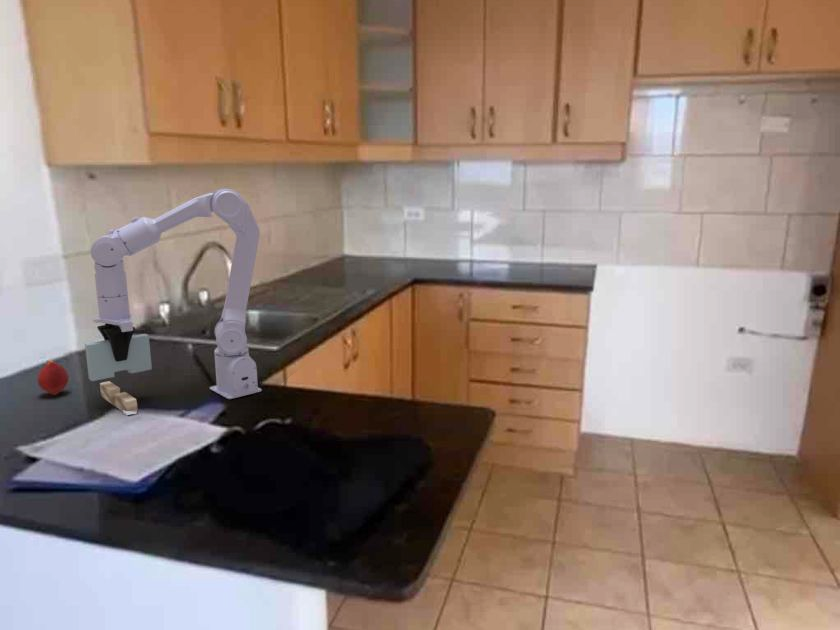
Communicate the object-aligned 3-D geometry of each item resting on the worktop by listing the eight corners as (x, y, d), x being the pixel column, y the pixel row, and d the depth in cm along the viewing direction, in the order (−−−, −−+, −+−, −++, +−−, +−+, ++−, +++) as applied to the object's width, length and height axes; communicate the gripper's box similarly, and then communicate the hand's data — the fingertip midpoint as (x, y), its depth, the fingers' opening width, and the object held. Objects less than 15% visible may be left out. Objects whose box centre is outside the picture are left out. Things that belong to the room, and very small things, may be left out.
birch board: (137, 413, 129) (136, 399, 129) (127, 416, 128) (126, 402, 127) (110, 394, 141) (109, 381, 140) (101, 396, 139) (99, 383, 139)
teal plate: (151, 369, 138) (148, 335, 136) (91, 381, 130) (87, 345, 128) (148, 367, 139) (145, 333, 137) (88, 378, 131) (84, 343, 130)
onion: (63, 388, 144) (59, 354, 143) (74, 394, 141) (70, 359, 139) (35, 395, 140) (30, 360, 138) (46, 401, 136) (41, 365, 135)
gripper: (80, 292, 133) (87, 355, 136) (103, 302, 123) (110, 370, 126) (116, 288, 138) (122, 349, 141) (140, 298, 128) (147, 363, 130)
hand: (119, 359), depth 134 cm, fingers closed on teal plate, 2 cm apart
